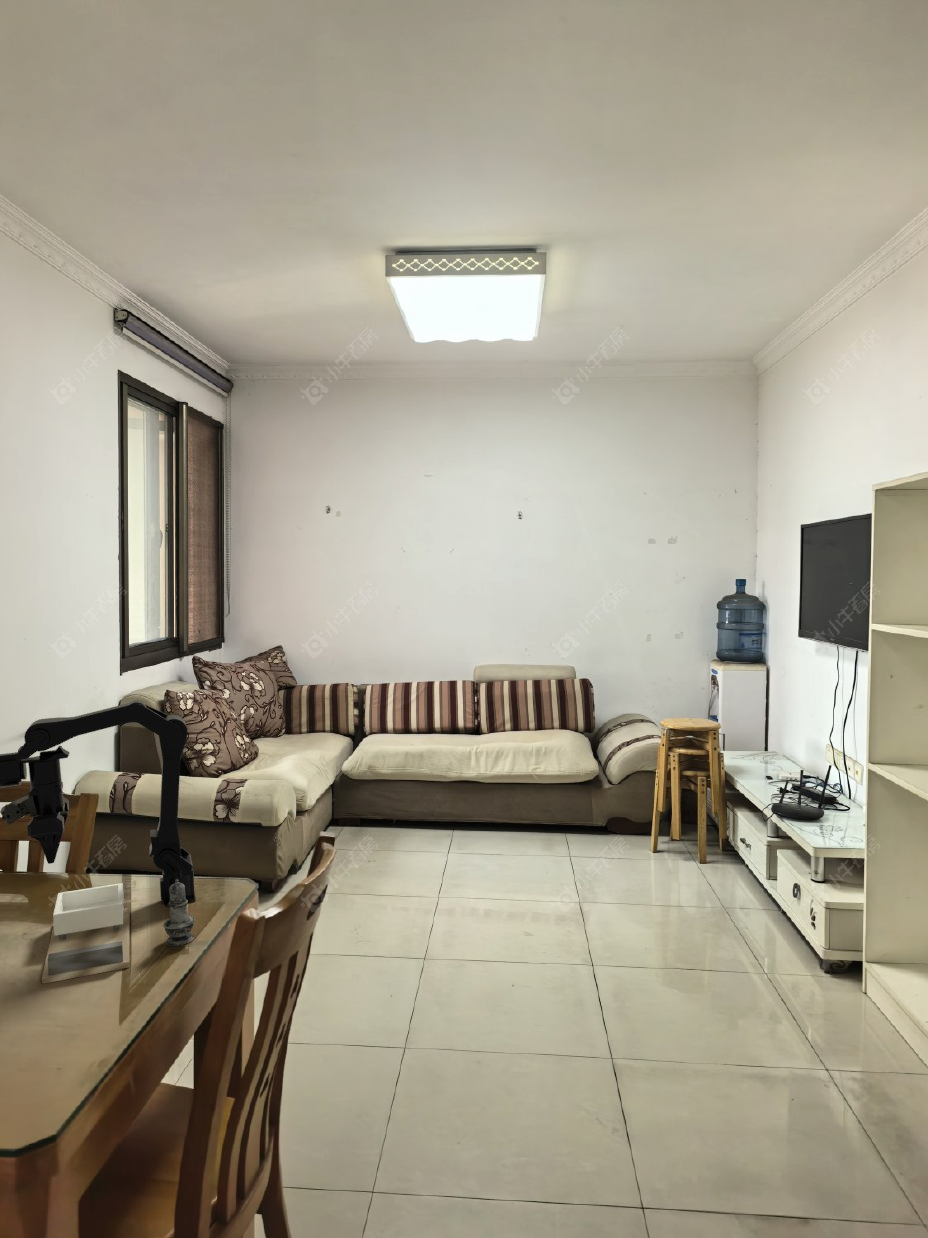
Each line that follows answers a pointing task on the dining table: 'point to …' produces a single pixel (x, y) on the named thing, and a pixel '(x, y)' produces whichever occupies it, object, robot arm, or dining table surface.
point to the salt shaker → (178, 917)
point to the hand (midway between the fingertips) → (53, 856)
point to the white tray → (88, 909)
